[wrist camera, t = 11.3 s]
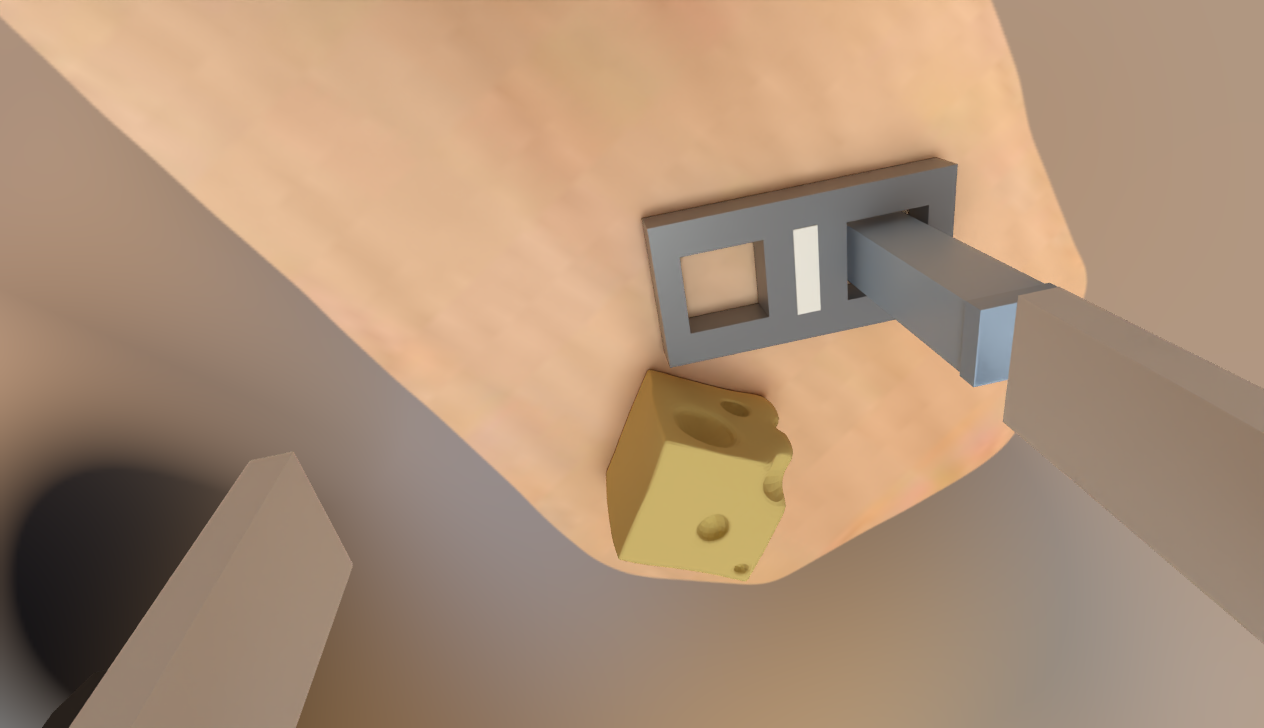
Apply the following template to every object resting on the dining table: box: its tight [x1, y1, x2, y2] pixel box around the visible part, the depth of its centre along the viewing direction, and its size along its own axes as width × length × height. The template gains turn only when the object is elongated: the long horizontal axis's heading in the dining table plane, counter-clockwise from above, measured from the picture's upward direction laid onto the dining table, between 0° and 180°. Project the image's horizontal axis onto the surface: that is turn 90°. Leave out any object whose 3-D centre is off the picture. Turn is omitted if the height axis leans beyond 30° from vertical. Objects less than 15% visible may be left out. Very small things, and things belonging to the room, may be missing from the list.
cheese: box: [606, 370, 793, 581], centre depth 46 cm, size 10×11×10 cm
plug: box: [847, 211, 1057, 387], centre depth 38 cm, size 4×4×16 cm
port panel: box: [642, 157, 958, 368], centre depth 44 cm, size 10×20×3 cm, turn 100°
